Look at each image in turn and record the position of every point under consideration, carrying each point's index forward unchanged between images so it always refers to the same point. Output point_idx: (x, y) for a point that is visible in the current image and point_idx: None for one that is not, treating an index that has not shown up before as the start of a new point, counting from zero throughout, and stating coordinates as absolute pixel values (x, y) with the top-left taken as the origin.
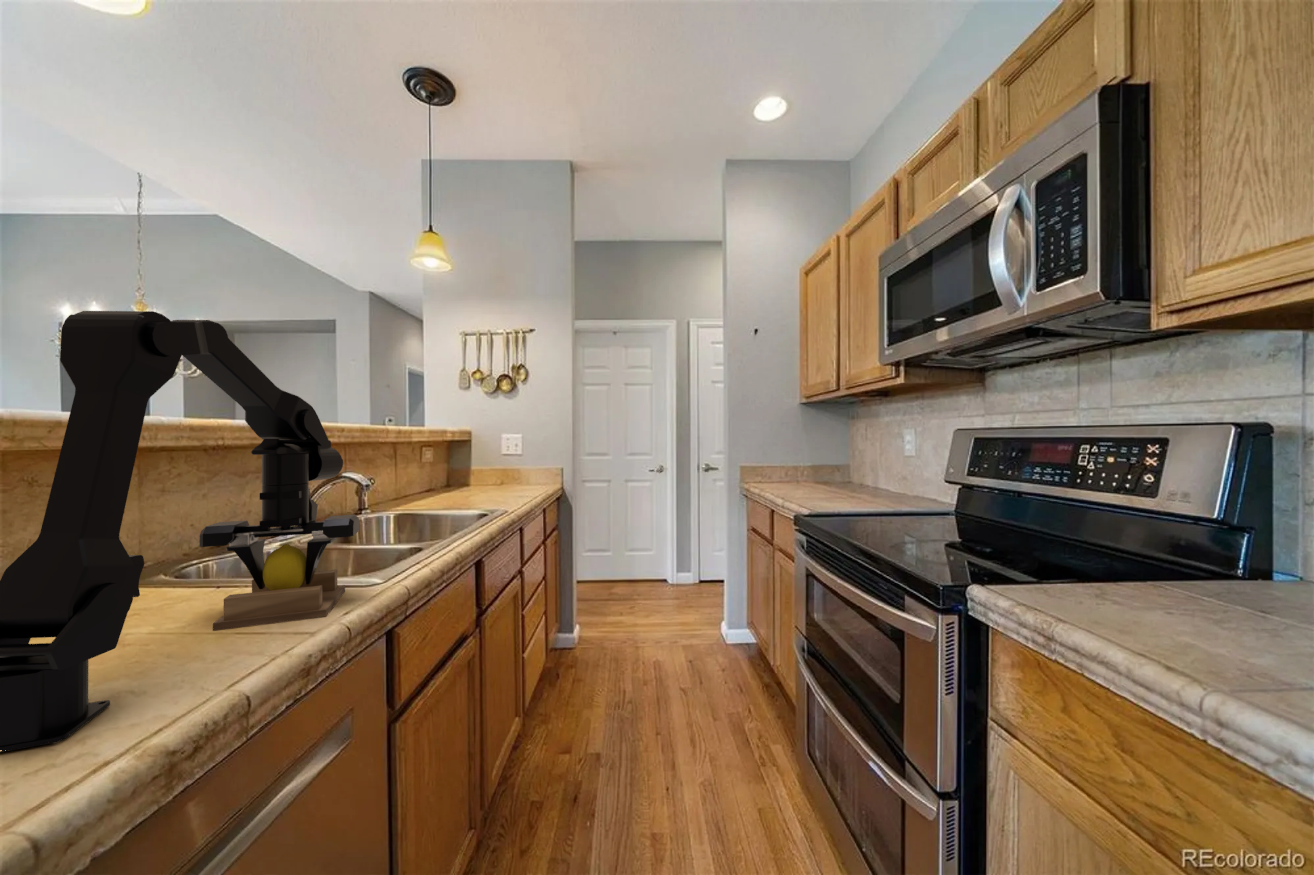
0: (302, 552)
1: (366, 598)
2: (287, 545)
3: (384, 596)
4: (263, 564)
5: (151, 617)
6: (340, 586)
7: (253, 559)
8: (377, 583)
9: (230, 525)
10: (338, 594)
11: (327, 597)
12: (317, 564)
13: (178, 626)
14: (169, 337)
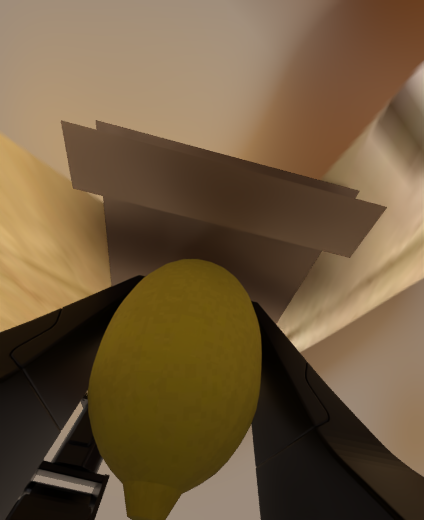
0: (247, 430)
1: (348, 285)
2: (161, 511)
3: (381, 294)
4: (92, 327)
5: None
6: (344, 193)
7: (63, 423)
8: None
9: None
10: (307, 271)
11: (280, 286)
12: (292, 349)
13: (51, 252)
14: None
